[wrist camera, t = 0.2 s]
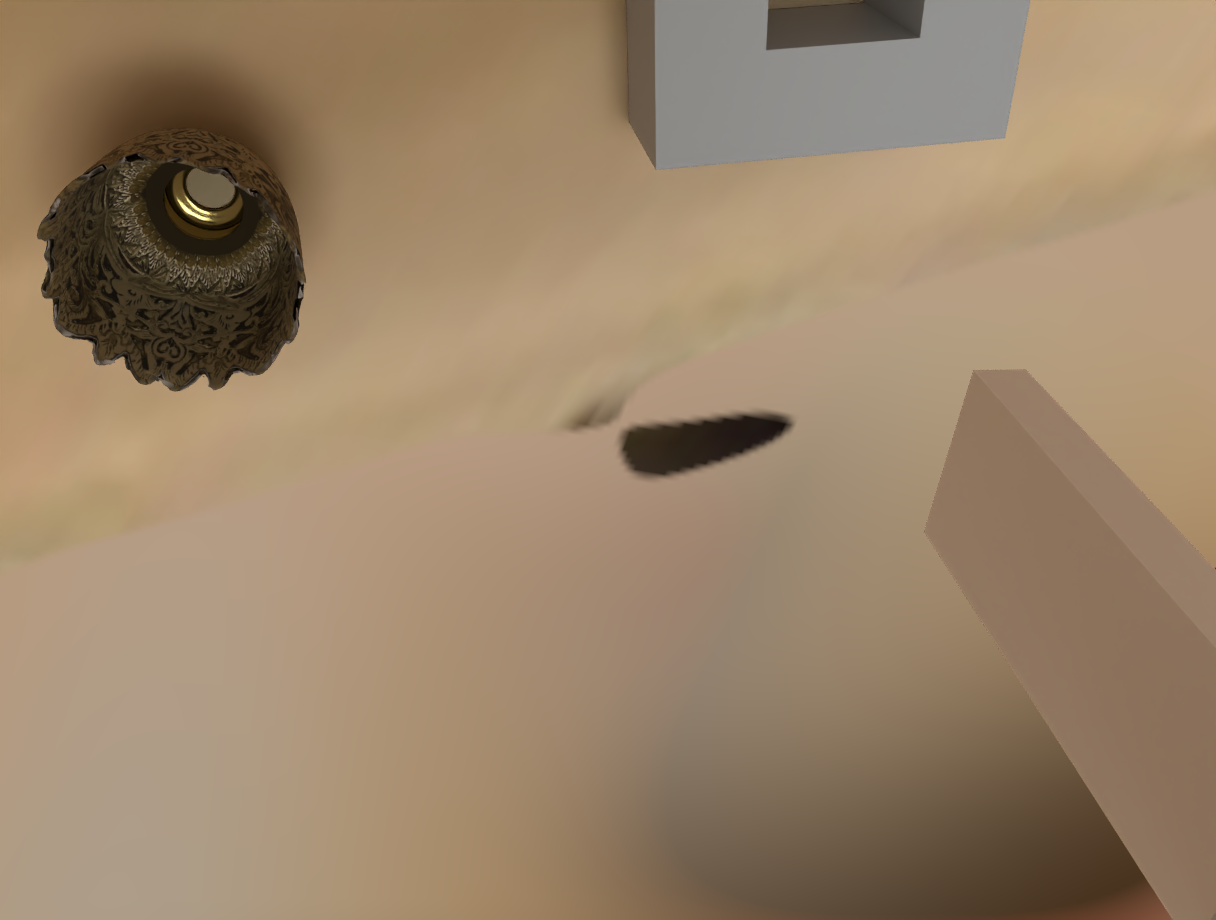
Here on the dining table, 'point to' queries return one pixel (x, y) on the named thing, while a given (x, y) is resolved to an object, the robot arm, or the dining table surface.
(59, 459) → the dining table surface
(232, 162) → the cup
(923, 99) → the socket block
